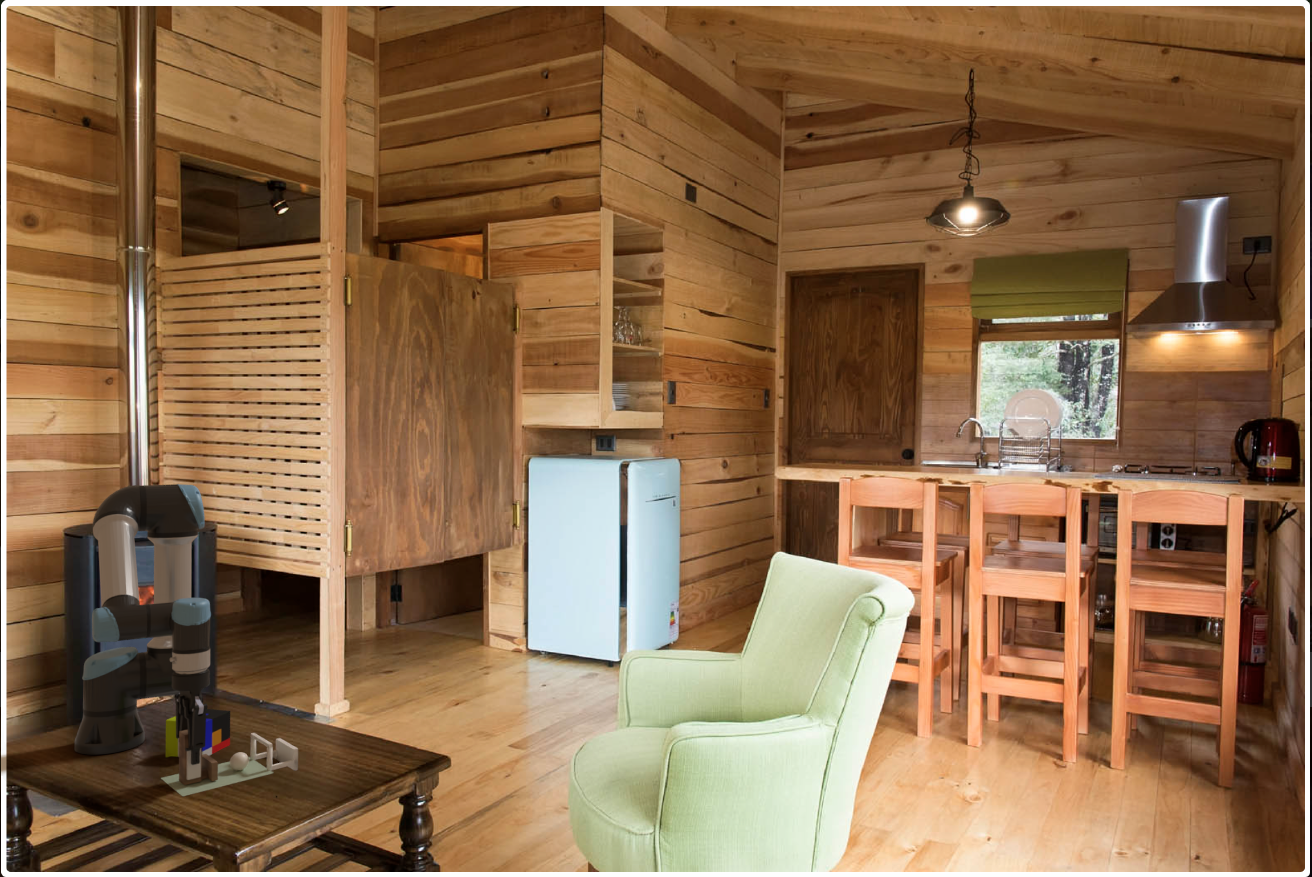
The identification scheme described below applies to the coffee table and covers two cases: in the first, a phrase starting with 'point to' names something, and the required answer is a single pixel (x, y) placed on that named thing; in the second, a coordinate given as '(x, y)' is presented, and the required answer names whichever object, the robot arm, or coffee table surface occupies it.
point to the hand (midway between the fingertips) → (190, 775)
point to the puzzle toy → (214, 737)
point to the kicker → (207, 763)
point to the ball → (239, 761)
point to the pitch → (253, 770)
